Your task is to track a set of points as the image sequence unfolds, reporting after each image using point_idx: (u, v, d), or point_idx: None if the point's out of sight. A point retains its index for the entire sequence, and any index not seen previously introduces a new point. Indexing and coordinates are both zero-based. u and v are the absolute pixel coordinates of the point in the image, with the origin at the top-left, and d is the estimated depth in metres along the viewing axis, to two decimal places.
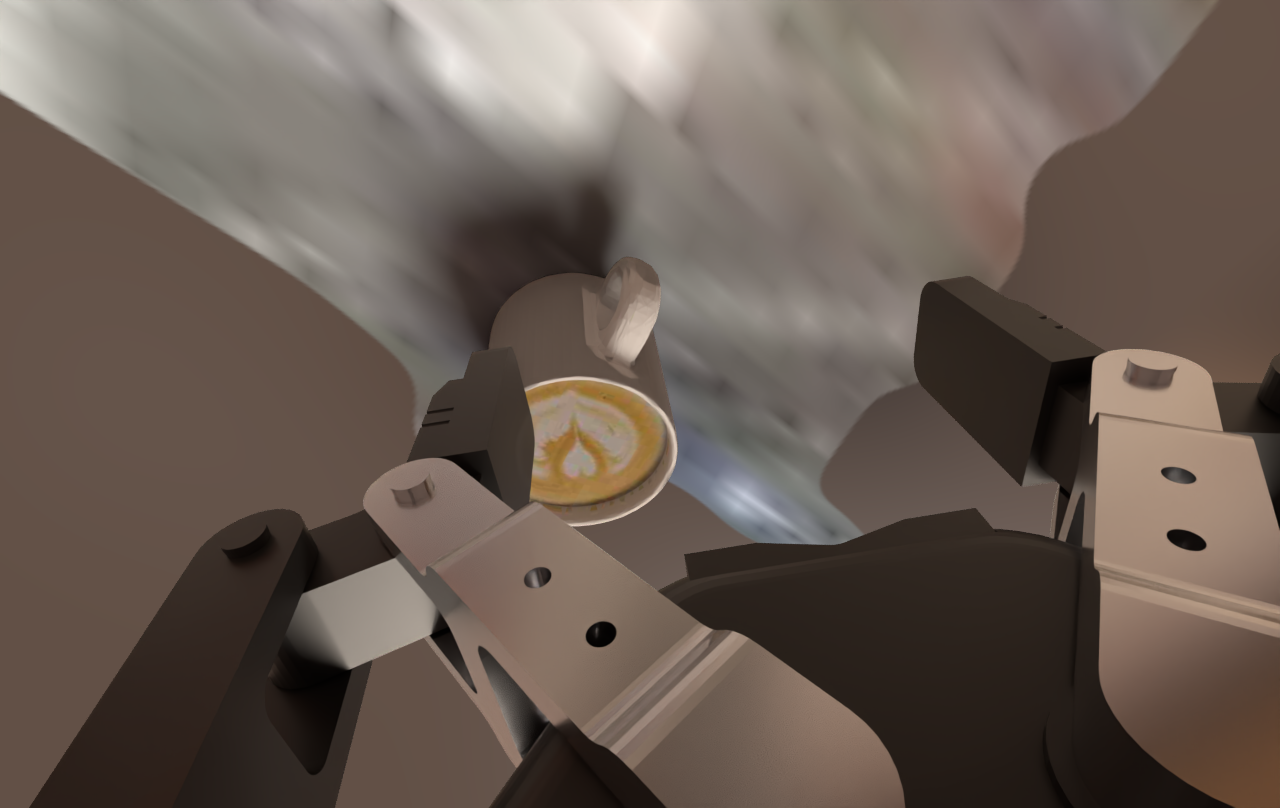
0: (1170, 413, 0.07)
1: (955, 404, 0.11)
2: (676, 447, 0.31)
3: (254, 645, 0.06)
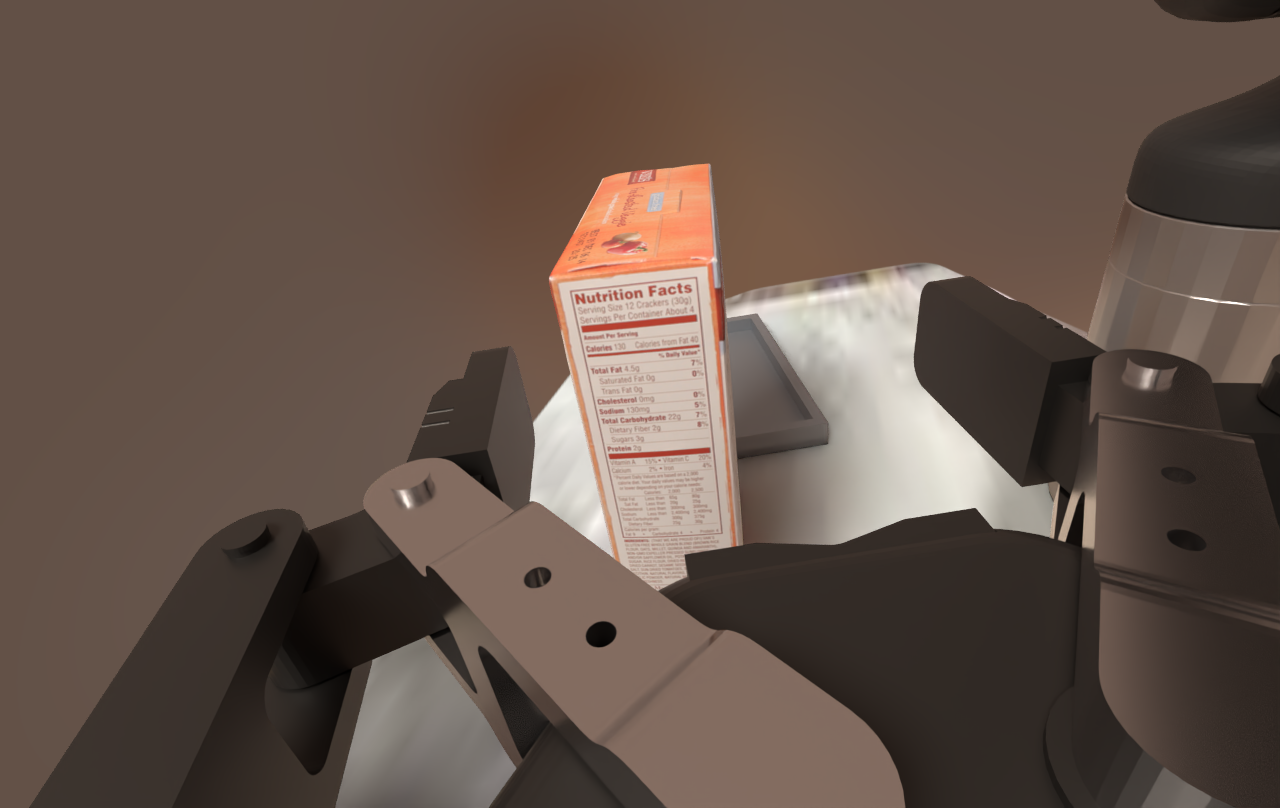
0: (1170, 413, 0.07)
1: (955, 404, 0.11)
2: None
3: (254, 645, 0.06)
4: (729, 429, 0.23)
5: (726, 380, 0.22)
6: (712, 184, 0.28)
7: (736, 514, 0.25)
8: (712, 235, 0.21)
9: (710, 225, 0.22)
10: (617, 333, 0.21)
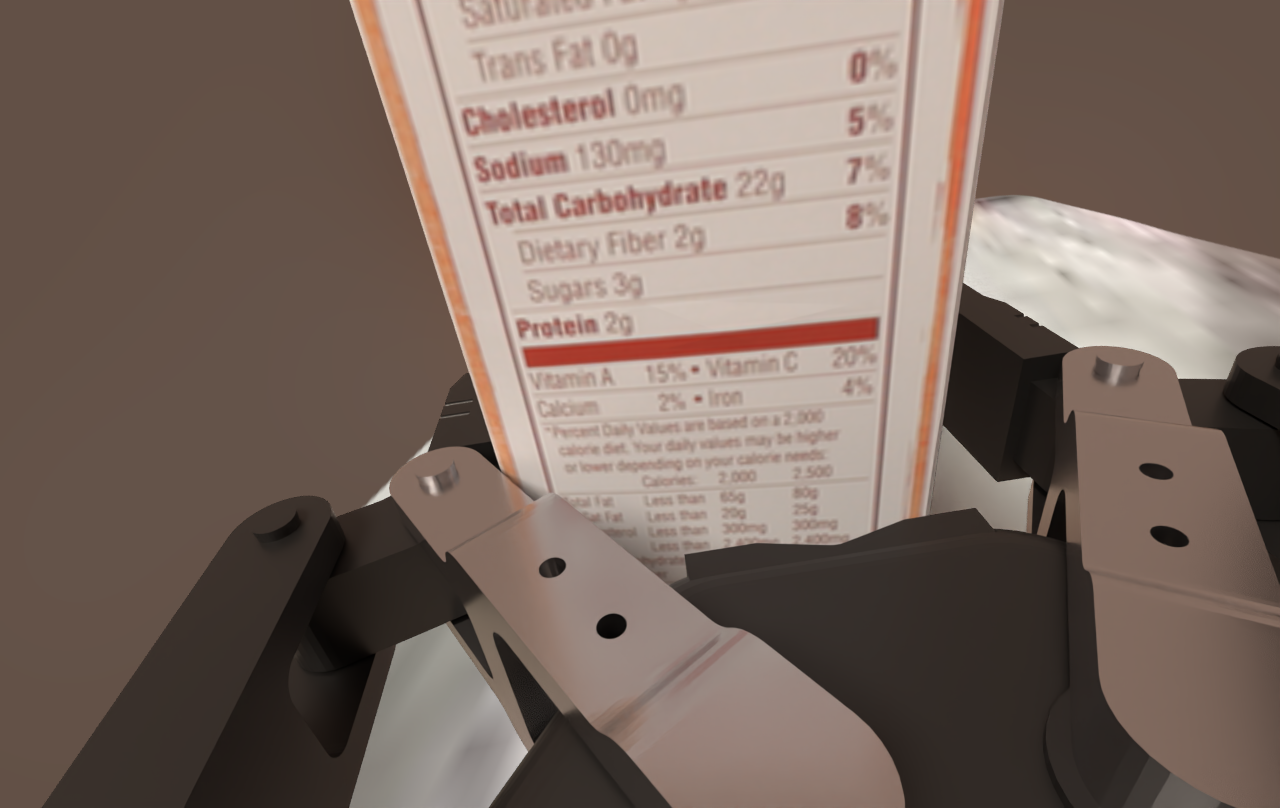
0: (1140, 408, 0.07)
1: None
2: None
3: (280, 628, 0.06)
4: (965, 240, 0.06)
5: None
6: None
7: None
8: None
9: None
10: None
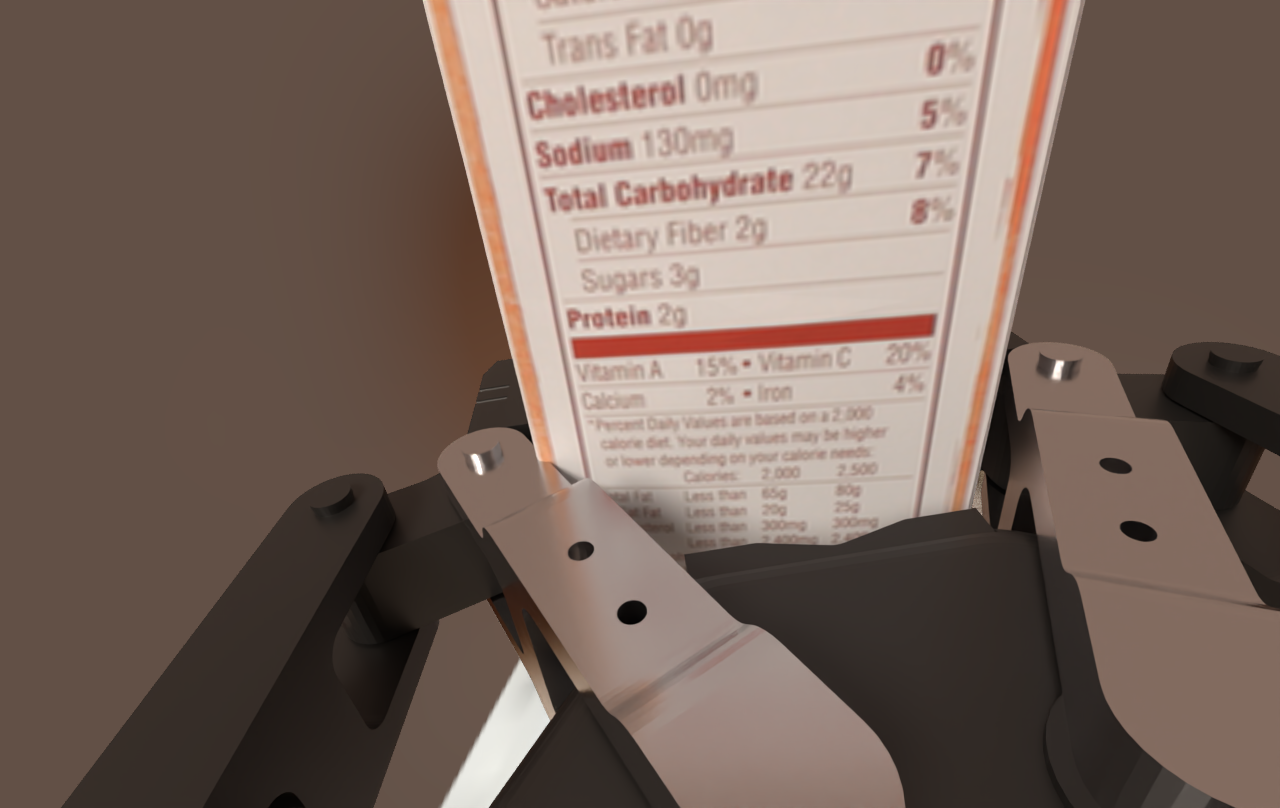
0: (1086, 402, 0.08)
1: None
2: None
3: (327, 601, 0.06)
4: (1028, 238, 0.06)
5: None
6: None
7: None
8: None
9: None
10: None
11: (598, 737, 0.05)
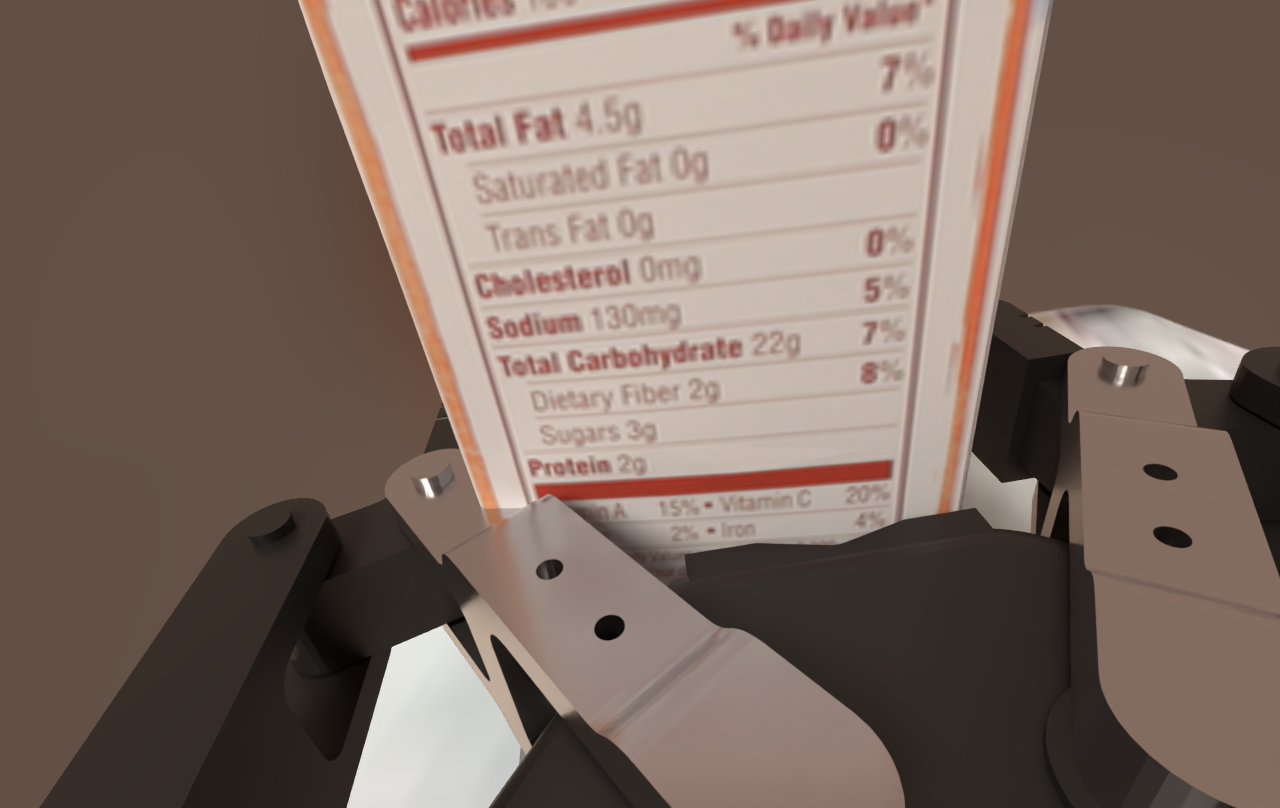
0: (1145, 409, 0.07)
1: None
2: None
3: (275, 631, 0.06)
4: (978, 392, 0.06)
5: (1019, 171, 0.05)
6: None
7: None
8: None
9: None
10: None
11: None
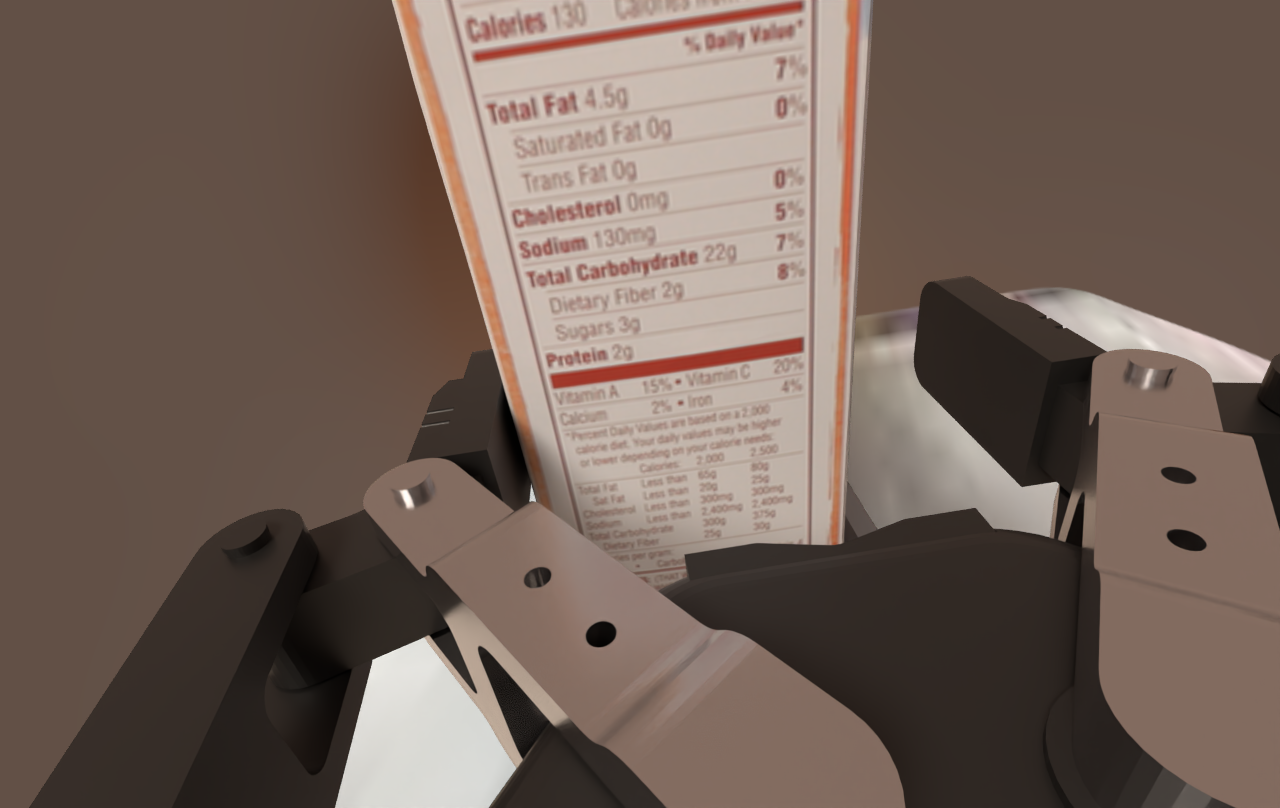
0: (1170, 413, 0.07)
1: (955, 404, 0.11)
2: None
3: (254, 645, 0.06)
4: (855, 283, 0.09)
5: (864, 129, 0.08)
6: None
7: (844, 502, 0.11)
8: None
9: None
10: None
11: None
